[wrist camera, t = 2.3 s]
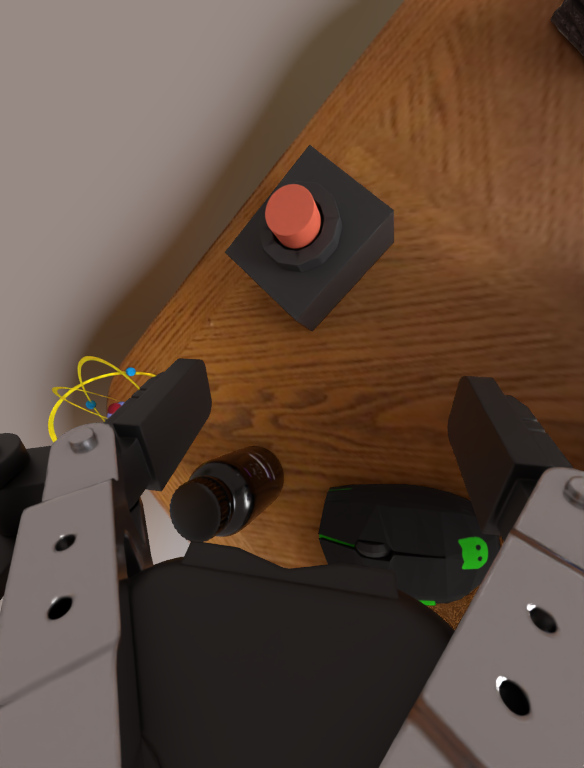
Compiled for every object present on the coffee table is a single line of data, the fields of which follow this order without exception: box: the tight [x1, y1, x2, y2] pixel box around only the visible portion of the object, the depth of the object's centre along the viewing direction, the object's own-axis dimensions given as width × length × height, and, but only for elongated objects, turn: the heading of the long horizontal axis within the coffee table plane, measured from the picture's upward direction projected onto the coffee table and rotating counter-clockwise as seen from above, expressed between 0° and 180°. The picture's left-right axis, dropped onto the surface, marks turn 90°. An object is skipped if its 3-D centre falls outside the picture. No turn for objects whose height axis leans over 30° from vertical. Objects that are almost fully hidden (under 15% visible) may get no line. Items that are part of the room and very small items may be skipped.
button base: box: [225, 145, 394, 331], centre depth 31 cm, size 12×10×8 cm
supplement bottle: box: [170, 446, 284, 542], centre depth 31 cm, size 7×7×12 cm
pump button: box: [265, 184, 321, 249], centre depth 27 cm, size 4×4×3 cm
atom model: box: [48, 356, 156, 442], centre depth 35 cm, size 14×15×14 cm
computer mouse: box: [318, 484, 500, 606], centre depth 30 cm, size 11×16×4 cm
